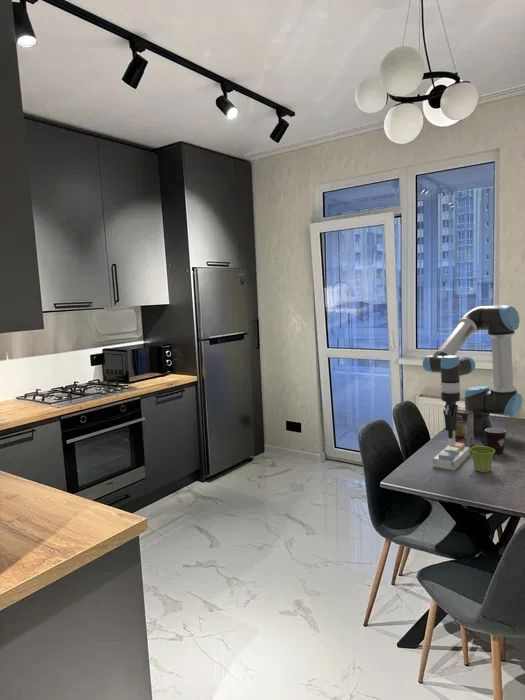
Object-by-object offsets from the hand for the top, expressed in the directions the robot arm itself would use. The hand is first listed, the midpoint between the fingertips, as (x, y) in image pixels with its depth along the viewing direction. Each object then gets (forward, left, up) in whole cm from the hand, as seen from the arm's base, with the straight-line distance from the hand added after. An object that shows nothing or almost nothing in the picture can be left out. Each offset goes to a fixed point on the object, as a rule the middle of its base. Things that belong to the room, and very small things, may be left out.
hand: (451, 444), depth 221 cm
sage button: (0, 0, -5) cm, 5 cm away
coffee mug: (-19, +12, -7) cm, 24 cm away
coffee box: (-25, -3, -7) cm, 26 cm away
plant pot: (+6, +14, -7) cm, 17 cm away
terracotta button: (-8, 0, -5) cm, 9 cm away
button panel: (0, 0, -7) cm, 7 cm away
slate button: (+7, 0, -5) cm, 9 cm away
